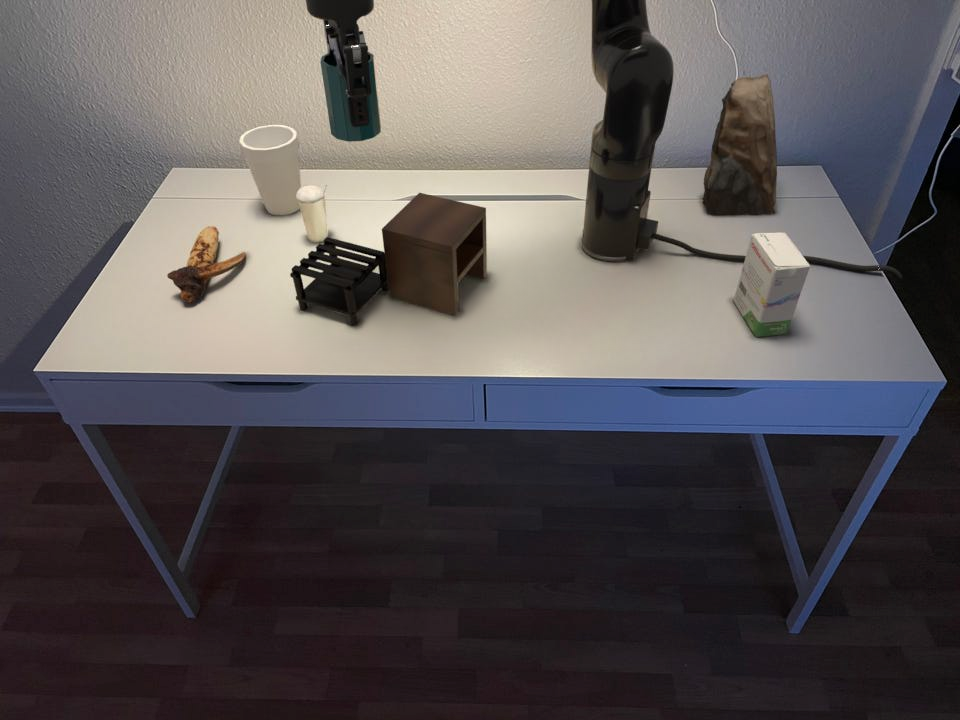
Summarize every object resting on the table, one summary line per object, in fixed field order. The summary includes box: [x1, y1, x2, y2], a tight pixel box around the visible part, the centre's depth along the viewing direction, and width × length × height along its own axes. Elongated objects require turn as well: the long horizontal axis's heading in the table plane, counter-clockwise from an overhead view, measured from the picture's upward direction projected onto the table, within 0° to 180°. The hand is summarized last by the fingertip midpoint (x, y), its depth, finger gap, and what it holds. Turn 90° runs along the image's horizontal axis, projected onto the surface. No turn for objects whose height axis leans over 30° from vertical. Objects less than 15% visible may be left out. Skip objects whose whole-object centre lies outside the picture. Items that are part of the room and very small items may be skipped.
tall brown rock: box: [701, 73, 778, 216], centre depth 121 cm, size 13×13×20 cm
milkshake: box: [296, 184, 329, 244], centre depth 117 cm, size 4×5×10 cm
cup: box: [319, 51, 382, 143], centre depth 88 cm, size 6×6×9 cm
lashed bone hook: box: [166, 226, 246, 303], centre depth 112 cm, size 9×5×18 cm
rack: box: [289, 236, 389, 327], centre depth 106 cm, size 10×10×7 cm
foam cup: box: [238, 124, 302, 216], centre depth 124 cm, size 10×9×13 cm
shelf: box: [381, 192, 488, 317], centre depth 106 cm, size 11×11×12 cm
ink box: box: [732, 231, 811, 338], centre depth 99 cm, size 8×5×12 cm, turn 6°
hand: (353, 113), depth 90 cm, fingers closed on cup, 6 cm apart
